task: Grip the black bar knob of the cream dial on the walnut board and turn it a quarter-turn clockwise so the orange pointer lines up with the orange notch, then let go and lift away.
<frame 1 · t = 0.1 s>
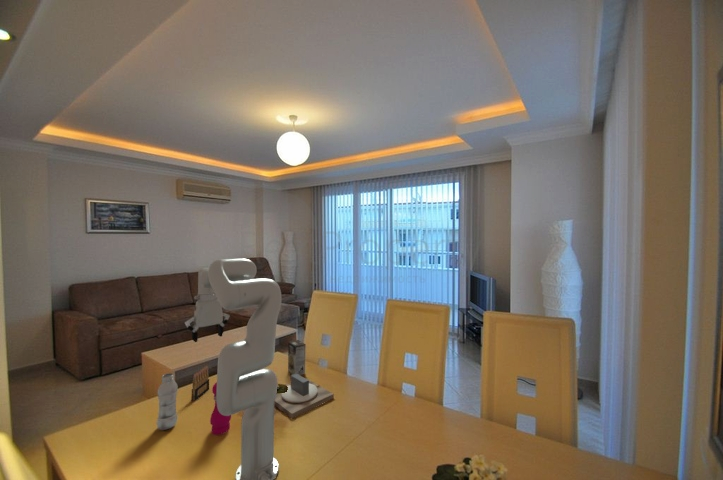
hand: (208, 338, 123), 31 cm above the table, tool pointing down, fingers open, 9 cm apart
dial board: (299, 398, 135), on the table
plastic bottle: (167, 427, 114), on the table
pepper mill: (220, 430, 113), on the table
ammunition clip: (200, 395, 138), on the table
coffee box: (296, 372, 162), on the table
dial: (299, 385, 135), point 6 cm above the table, hinge at 0.0°
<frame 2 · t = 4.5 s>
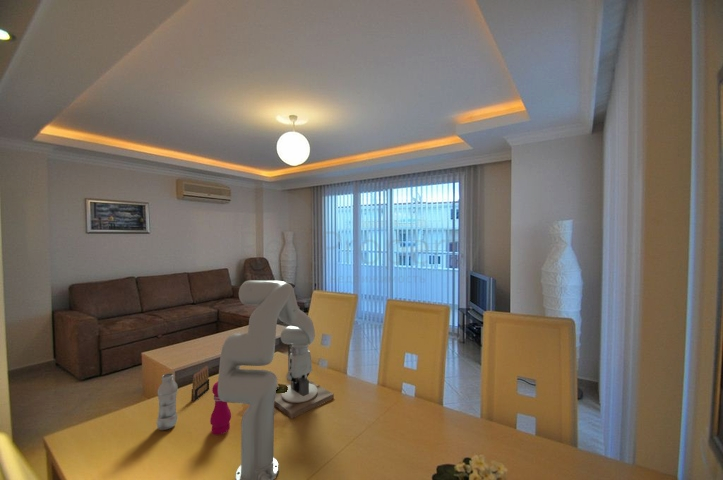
hand: (299, 389, 135), 4 cm above the table, tool pointing down, fingers closed on dial, 3 cm apart
dial: (299, 385, 135), point 6 cm above the table, hinge at 0.0°, touching gripper
everything else where it was.
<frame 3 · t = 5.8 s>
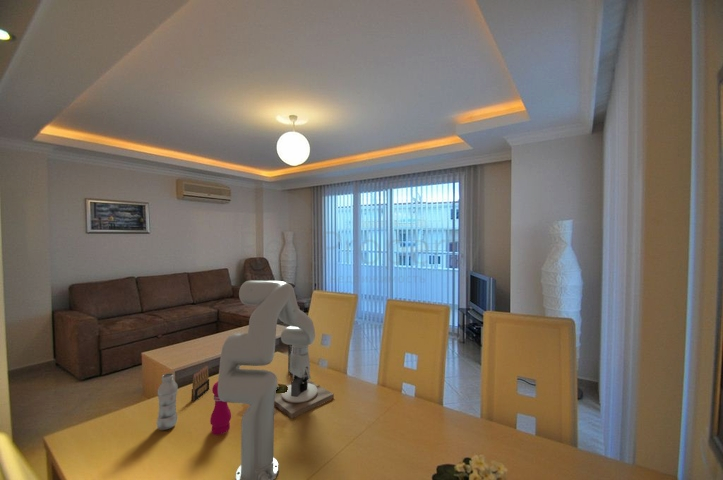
hand: (300, 388, 136), 4 cm above the table, tool pointing down, fingers closed on dial, 4 cm apart
dial: (299, 385, 135), point 6 cm above the table, hinge at -61.9°, touching gripper
everything else where it was.
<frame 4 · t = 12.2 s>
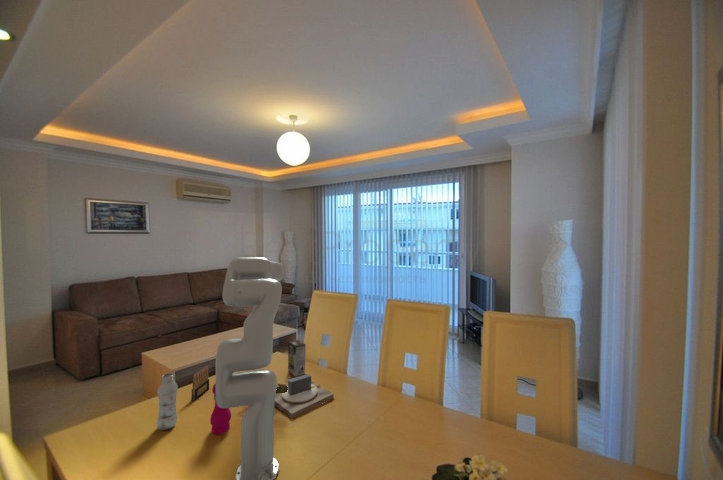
hand: (263, 327, 135), 32 cm above the table, tool pointing down, fingers open, 9 cm apart
dial: (299, 385, 135), point 6 cm above the table, hinge at -99.5°
everything else where it was.
at the end: dial at -100° (first picture: +0°); pepper mill moved 0.2 cm from its start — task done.
